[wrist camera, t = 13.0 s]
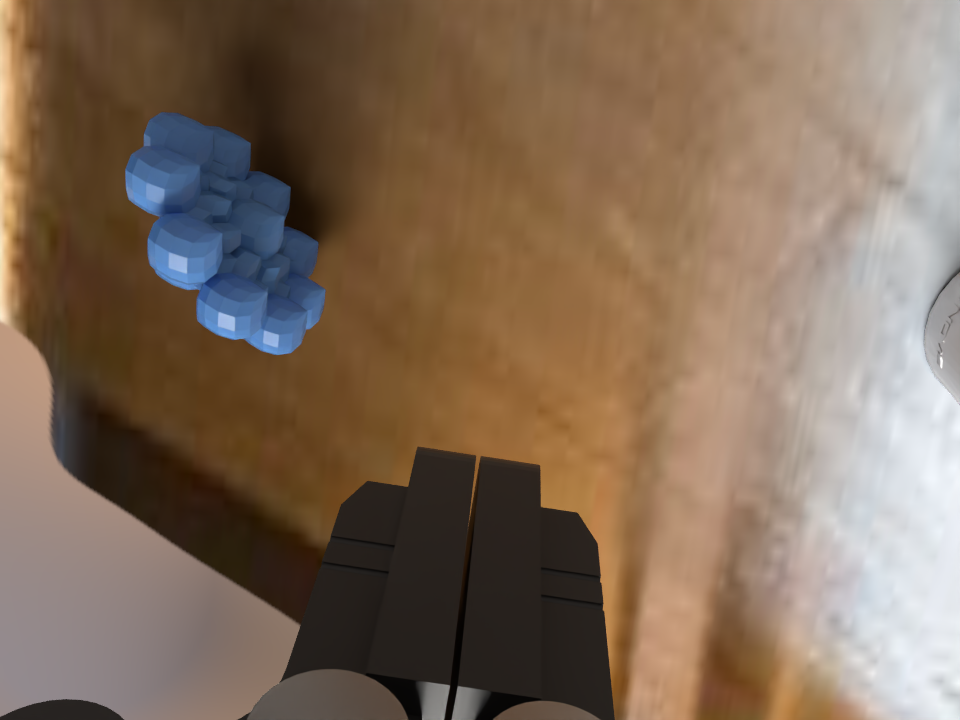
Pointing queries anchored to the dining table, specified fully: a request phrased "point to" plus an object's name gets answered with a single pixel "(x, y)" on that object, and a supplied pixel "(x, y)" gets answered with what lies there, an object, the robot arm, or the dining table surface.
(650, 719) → the dining table surface
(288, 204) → the grapes
